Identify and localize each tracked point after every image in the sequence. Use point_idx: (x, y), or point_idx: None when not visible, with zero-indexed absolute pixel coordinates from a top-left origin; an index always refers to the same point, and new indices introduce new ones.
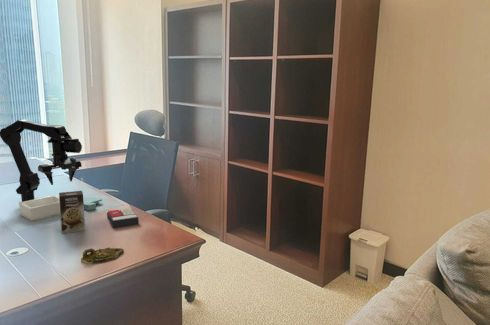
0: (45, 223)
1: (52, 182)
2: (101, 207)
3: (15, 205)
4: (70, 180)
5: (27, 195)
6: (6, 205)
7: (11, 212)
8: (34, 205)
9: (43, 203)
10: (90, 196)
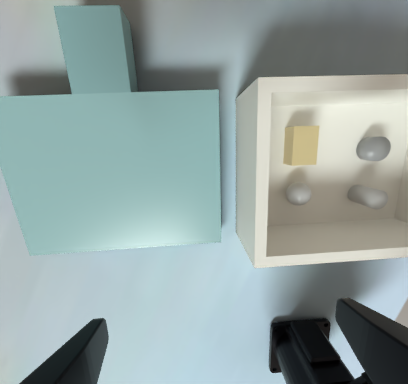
0: (394, 4)
1: (372, 319)
2: (36, 36)
3: (340, 350)
4: (101, 338)
5: (343, 369)
6: (361, 368)
7: (395, 277)
8: (361, 232)
9: (313, 235)
10: (28, 239)
